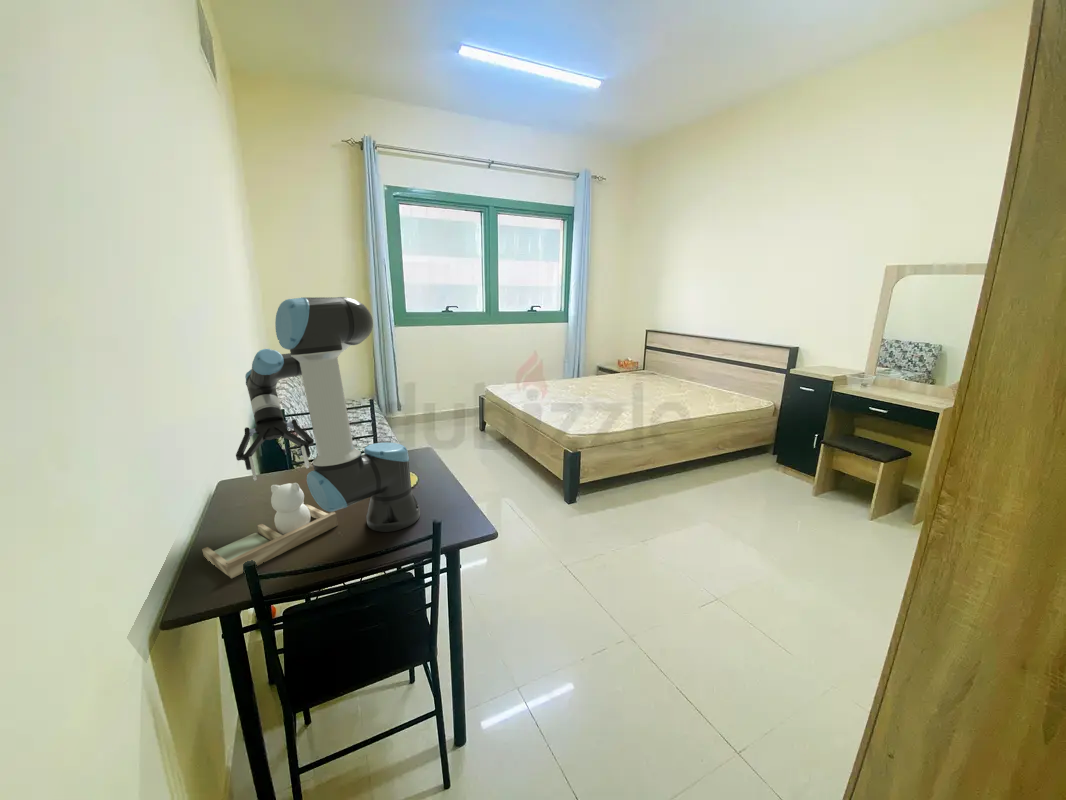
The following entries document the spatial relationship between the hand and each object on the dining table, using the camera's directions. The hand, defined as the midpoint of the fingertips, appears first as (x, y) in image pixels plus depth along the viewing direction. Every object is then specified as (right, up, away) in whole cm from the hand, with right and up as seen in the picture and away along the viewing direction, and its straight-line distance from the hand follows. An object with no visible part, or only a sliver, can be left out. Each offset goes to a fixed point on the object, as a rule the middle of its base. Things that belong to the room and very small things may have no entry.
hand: (282, 472), depth 124 cm
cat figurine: (+5, -16, -2) cm, 17 cm away
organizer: (+3, -17, -8) cm, 19 cm away
